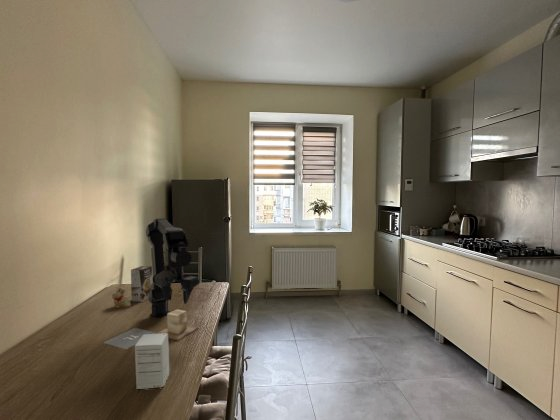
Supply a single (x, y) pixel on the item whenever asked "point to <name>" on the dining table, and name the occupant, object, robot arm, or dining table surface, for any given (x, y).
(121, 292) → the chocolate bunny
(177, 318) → the maple block
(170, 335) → the walnut board
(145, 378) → the supplement box
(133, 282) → the coffee box
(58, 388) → the dining table surface
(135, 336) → the slate gray tile
